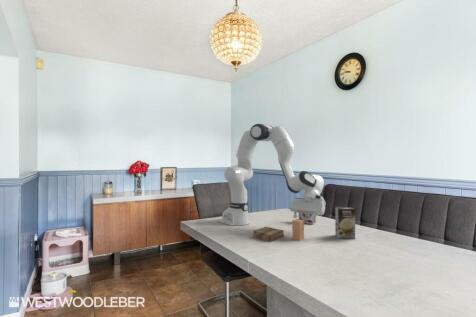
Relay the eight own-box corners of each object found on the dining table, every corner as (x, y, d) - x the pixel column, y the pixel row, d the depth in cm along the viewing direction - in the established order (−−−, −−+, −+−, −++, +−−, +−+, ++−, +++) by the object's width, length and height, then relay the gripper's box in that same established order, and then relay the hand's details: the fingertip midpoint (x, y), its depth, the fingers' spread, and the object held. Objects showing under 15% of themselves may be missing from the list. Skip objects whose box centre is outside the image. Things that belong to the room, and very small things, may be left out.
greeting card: (297, 222, 181) (297, 200, 181) (303, 220, 186) (303, 199, 186) (312, 225, 173) (312, 202, 173) (318, 223, 178) (318, 200, 178)
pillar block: (292, 238, 143) (292, 220, 143) (296, 236, 147) (296, 218, 147) (299, 240, 140) (299, 221, 140) (303, 238, 144) (303, 220, 144)
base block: (253, 238, 146) (253, 230, 146) (266, 233, 155) (266, 226, 155) (271, 242, 138) (271, 234, 138) (283, 237, 147) (283, 230, 147)
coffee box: (338, 238, 144) (338, 208, 144) (335, 235, 150) (334, 206, 150) (355, 238, 143) (355, 209, 143) (351, 235, 149) (351, 206, 149)
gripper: (292, 194, 160) (284, 212, 152) (325, 197, 146) (317, 217, 139) (296, 200, 163) (288, 219, 156) (328, 204, 149) (321, 224, 142)
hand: (302, 218), depth 147 cm, fingers open, 8 cm apart
